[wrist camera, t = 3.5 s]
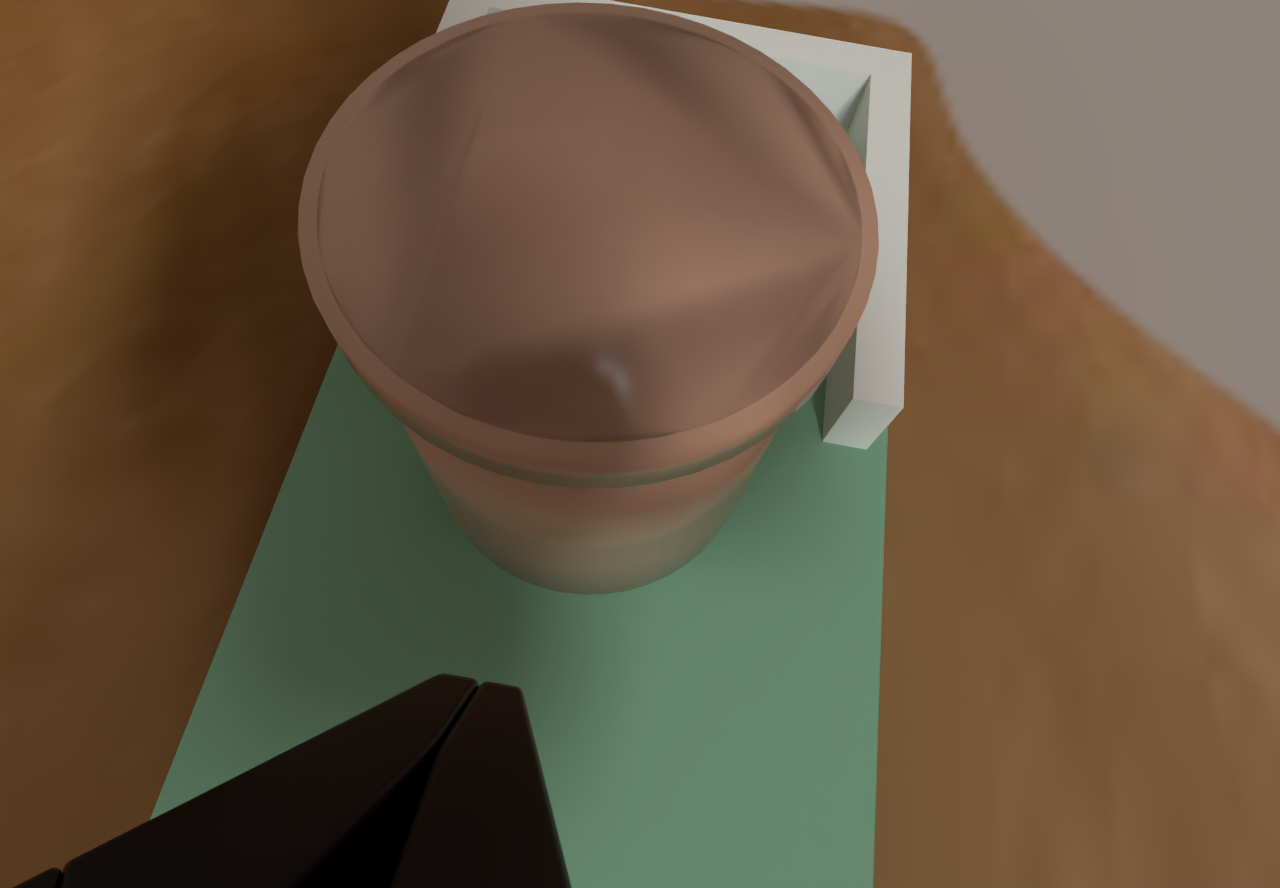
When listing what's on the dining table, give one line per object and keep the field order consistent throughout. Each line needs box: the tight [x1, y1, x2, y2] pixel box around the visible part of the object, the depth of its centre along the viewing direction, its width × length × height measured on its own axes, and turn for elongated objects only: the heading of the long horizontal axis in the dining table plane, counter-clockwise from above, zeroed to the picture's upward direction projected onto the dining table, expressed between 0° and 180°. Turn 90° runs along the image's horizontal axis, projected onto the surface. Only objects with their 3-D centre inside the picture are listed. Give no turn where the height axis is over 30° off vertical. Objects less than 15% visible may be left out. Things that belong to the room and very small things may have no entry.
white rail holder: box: [436, 0, 912, 450], centre depth 21 cm, size 12×14×2 cm
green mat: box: [150, 345, 888, 888], centre depth 20 cm, size 25×15×1 cm, turn 170°
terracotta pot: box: [298, 2, 879, 595], centre depth 15 cm, size 8×8×9 cm
